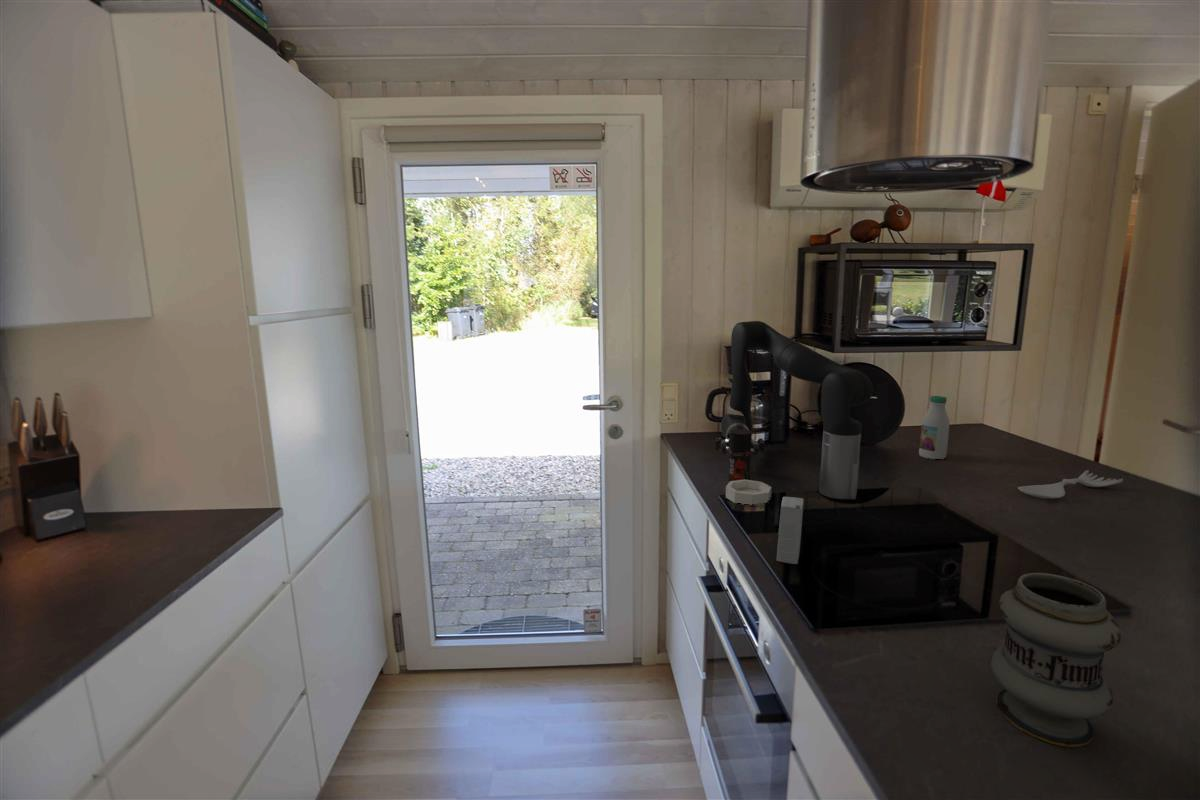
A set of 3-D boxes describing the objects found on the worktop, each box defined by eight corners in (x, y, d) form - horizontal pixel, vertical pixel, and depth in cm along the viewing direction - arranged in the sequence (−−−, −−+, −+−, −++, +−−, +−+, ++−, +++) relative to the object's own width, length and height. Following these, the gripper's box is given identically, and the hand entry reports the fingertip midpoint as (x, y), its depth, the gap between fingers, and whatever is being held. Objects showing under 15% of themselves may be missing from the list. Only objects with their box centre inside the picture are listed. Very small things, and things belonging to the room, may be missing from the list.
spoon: (1123, 490, 154) (1125, 477, 153) (1044, 506, 143) (1046, 493, 142) (1085, 479, 162) (1087, 468, 162) (1008, 494, 151) (1010, 482, 151)
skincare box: (778, 549, 120) (781, 495, 118) (800, 552, 118) (804, 497, 116) (775, 562, 114) (778, 505, 112) (799, 565, 113) (802, 508, 110)
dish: (773, 494, 152) (773, 483, 152) (765, 507, 143) (765, 496, 142) (732, 488, 157) (733, 477, 157) (722, 501, 148) (722, 490, 147)
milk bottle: (938, 453, 188) (945, 394, 185) (950, 460, 181) (957, 399, 177) (914, 453, 189) (920, 394, 185) (925, 460, 182) (931, 398, 178)
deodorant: (753, 482, 162) (755, 431, 159) (743, 487, 158) (745, 435, 155) (735, 477, 166) (736, 428, 163) (724, 482, 162) (726, 432, 159)
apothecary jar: (967, 682, 79) (982, 563, 75) (1059, 687, 78) (1079, 566, 74) (1022, 751, 67) (1043, 613, 64) (1132, 758, 66) (1159, 618, 62)
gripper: (715, 424, 178) (715, 437, 162) (762, 426, 175) (766, 439, 160) (715, 447, 179) (714, 462, 164) (761, 449, 177) (765, 464, 161)
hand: (740, 450), depth 162 cm, fingers open, 8 cm apart
